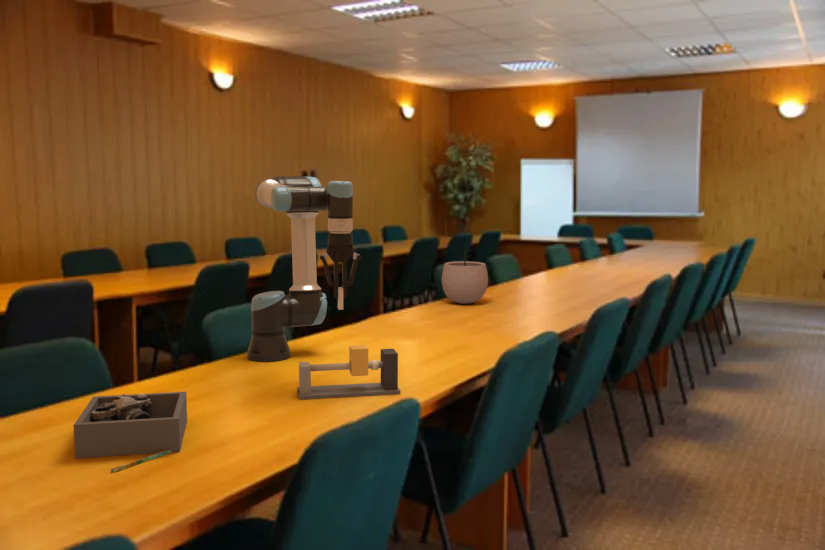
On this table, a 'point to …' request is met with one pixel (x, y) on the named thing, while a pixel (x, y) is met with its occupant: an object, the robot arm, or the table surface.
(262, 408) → the table surface
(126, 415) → the camera
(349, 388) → the rail
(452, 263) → the plant pot
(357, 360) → the sleeve
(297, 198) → the robot arm
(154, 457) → the pencil
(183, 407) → the open storage box
